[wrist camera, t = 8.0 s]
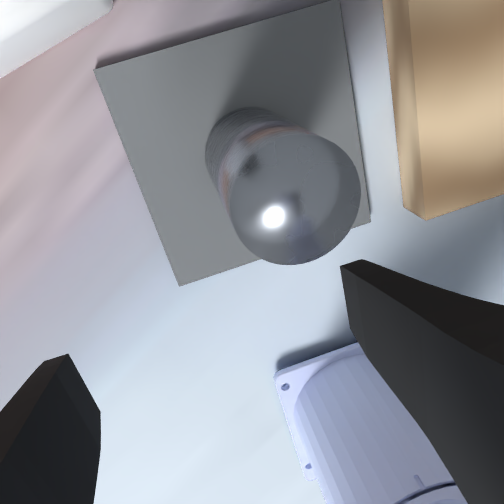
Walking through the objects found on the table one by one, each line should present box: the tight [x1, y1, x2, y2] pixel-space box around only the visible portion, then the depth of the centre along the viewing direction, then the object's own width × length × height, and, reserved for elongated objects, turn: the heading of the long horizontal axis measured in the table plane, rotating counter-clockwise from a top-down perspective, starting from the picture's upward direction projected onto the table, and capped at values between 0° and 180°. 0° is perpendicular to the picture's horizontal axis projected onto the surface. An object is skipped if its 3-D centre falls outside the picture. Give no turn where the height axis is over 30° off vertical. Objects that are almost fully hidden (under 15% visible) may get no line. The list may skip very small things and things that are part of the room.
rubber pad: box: [93, 0, 371, 286], centre depth 19 cm, size 10×10×1 cm
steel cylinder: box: [205, 107, 361, 265], centre depth 16 cm, size 4×4×7 cm
